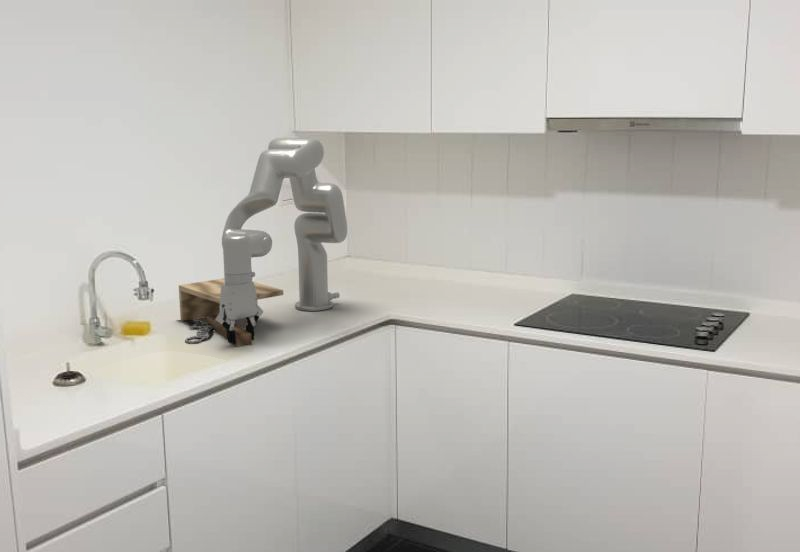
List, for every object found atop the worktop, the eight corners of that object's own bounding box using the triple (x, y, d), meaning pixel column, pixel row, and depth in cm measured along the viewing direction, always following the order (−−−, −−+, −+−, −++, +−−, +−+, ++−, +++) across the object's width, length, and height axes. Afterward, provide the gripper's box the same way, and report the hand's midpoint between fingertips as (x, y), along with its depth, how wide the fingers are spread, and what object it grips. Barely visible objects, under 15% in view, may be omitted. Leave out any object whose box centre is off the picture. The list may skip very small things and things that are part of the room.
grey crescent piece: (175, 318, 259) (208, 314, 262) (176, 323, 260) (208, 318, 263) (181, 343, 233) (217, 338, 236) (182, 348, 233) (218, 343, 236)
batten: (221, 313, 255) (207, 315, 252) (251, 333, 233) (235, 335, 230) (222, 323, 255) (207, 325, 253) (251, 344, 233) (236, 346, 231)
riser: (236, 310, 273) (234, 276, 270) (284, 327, 252) (283, 290, 250) (180, 321, 260) (178, 285, 257) (226, 339, 239) (224, 300, 237)
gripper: (257, 272, 239) (259, 333, 243) (203, 280, 228) (207, 344, 231) (271, 276, 233) (273, 338, 237) (217, 284, 222) (220, 349, 226)
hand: (240, 340), depth 234 cm, fingers closed on batten, 5 cm apart
